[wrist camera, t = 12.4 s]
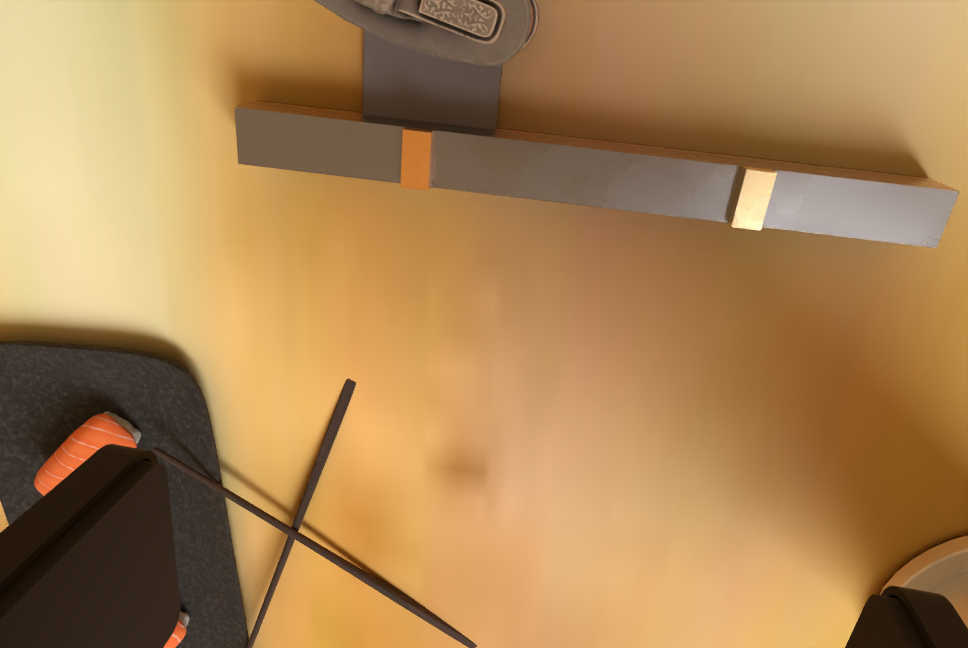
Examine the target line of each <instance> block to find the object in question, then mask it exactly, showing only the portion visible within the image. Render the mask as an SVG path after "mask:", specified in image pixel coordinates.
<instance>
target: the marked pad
mask: <svg viewBox="0 0 968 648" xmlns="http://www.w3.org/2000/svg"><path fill="white" fill-rule="evenodd" d="M501 72H502V64H501V65H496V66H484V65H479V64H473V63H467V62H461V61H456V60H450V59H444V58H439V57H436V56H433V55H430V54H426V53H423V52H420V51H417V50H413V49H410V48H407V47H404V46H401V45H397V44H394V43H391V42H389V41H387V40H385V39H383V38H381V37H379V36H377V35H375V34H373V33H371V32H369V31H366V30H364V58H363V114H365V115H374V116H382V117H391V118H400V119H408V120H417V121H426V122H434V123H443V124H451V125H460V126H469V127H477V128H486V129H496V122H497V112H498V102H499V92H500V82H501Z"/></svg>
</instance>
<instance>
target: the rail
mask: <svg viewBox="0 0 968 648" xmlns="http://www.w3.org/2000/svg"><path fill="white" fill-rule="evenodd" d="M235 118H236V134H237V149H238V164H245V165H253V166H261V167H269V168H278V169H286V170H294V171H302V172H311V173H319V174H327V175H336V176H344V177H352V178H360V179H369V180H377V181H385V182H393V183H401V184H400V187H405V188H413V189H422V190H429V188H430V187H435V188H443V189H451V190H460V191H468V192H476V193H485V194H493V195H501V196H509V197H518V198H526V199H534V200H542V201H551V202H559V203H567V204H576V205H584V206H592V207H600V208H609V209H617V210H625V211H633V212H642V213H650V214H658V215H667V216H675V217H683V218H691V219H700V220H708V221H716V222H724V223H729V225H730V226H731V227H735V228H744V229H752V230H760V231H761V228H762V227H766V228H774V229H782V230H791V231H799V232H807V233H815V234H824V235H832V236H840V237H849V238H857V239H865V240H873V241H882V242H890V243H898V244H906V245H915V246H923V247H931V248H937V246H938V243H939V241H940V238H941V236H942V233H943V231H944V228H945V226H946V224H947V221H948V219H949V216H950V214H951V211H952V209H953V206H954V204H955V201H956V199H957V197H958V194H959V191H957V190H955V189H953V188H951V187H948V186H946V185H944V184H942V183H939V182H937V181H935V180H933V179H930V178H923V177H915V176H906V175H897V174H889V173H880V172H871V171H863V170H854V169H845V168H837V167H828V166H819V165H811V164H802V163H793V162H785V161H776V160H767V159H759V158H750V157H741V156H733V155H724V154H715V153H707V152H698V151H690V150H681V149H672V148H664V147H655V146H646V145H638V144H629V143H620V142H612V141H603V140H594V139H586V138H577V137H568V136H560V135H551V134H542V133H534V132H525V131H516V130H508V129H499V128H496V129H486V128H477V127H469V126H460V125H451V124H443V123H434V122H426V121H417V120H408V119H400V118H391V117H382V116H374V115H365V114H363V113H360V112H352V111H343V110H334V109H326V108H317V107H308V106H300V105H291V104H282V103H274V102H265V101H255V102H252V103H248V104H245V105H241V106H238V107H235Z"/></svg>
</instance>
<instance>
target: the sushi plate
mask: <svg viewBox="0 0 968 648" xmlns="http://www.w3.org/2000/svg"><path fill="white" fill-rule="evenodd" d="M355 385H356V382H354V381H352V380H350V379H347V380H346V382H345V385H344V387H343V390H342V393H341V395H340V398H339V400H338V403H337V406H336V408H335V411H334V414H333V417H332V419H331V422H330V425H329V427H328V430H327V433H326V435H325V438H324V441H323V443H322V446H321V449H320V451H319V454H318V457H317V460H316V462H315V465H314V468H313V470H312V473H311V476H310V479H309V481H308V484H307V487H306V489H305V492H304V495H303V498H302V500H301V503H300V506H299V508H298V511H297V514H296V516H295V519H294V522H293V524H292V527H289V526H288V525H286V524H284V523H283V522H281V521H279V520H278V519H276V518H274V517H273V516H271V515H269V514H268V513H266V512H264V511H263V510H261V509H259V508H258V507H256V506H254V505H253V504H251V503H249V502H248V501H246V500H244V499H243V498H241V497H239V496H238V495H236V494H234V493H233V492H231V491H229V490H228V489H226V488H224V487H223V485H222V479H221V473H220V468H219V462H218V456H217V451H216V445H215V440H214V435H213V430H212V425H211V421H210V416H209V412H208V409H207V405H206V402H205V399H204V396H203V394H202V391H201V388H200V387H199V385H198V383H197V381H196V380H195V378H194V376H193V375H192V374H191V373H190V372H189V371H188V369H187V368H185V367H184V366H182V365H180V364H179V363H177V362H175V361H173V360H170V359H168V358H165V357H162V356H159V355H155V354H151V353H145V352H139V351H133V350H125V349H117V348H106V347H95V346H84V345H71V344H57V343H43V342H22V341H0V501H1V504H2V506H3V509H4V512H5V515H6V518H7V521H8V523H9V525H10V524H12V523H13V522H14V521H15V520H16V519H17V518H19V517H20V516H21V515H22V514H23V513H25V512H26V511H27V510H28V509H29V508H30V507H32V506H33V505H34V504H35V503H36V502H38V501H39V500H40V499H41V498H42V497H43V496H45V495H46V494H47V493H48V492H49V491H50V490H52V489H53V488H54V487H55V486H56V485H58V484H59V483H60V482H61V481H62V480H63V479H65V478H66V477H67V476H68V475H69V474H71V473H72V472H73V471H74V470H75V469H76V468H78V467H79V466H80V465H81V464H82V463H83V462H85V461H86V460H87V459H88V458H89V457H91V456H92V455H93V454H94V453H95V452H96V451H98V450H99V449H100V448H102V447H103V446H105V445H108V444H116V445H122V446H127V447H133V448H138V449H144V450H149V451H151V452H153V453H154V454H155V455H156V457H157V461H158V463H159V464H163V465H164V466H165V468H166V470H167V476H168V486H169V496H170V506H171V516H172V526H173V536H174V545H175V555H176V565H177V575H178V585H179V595H180V605H181V607H180V616H179V620H178V623H177V626H176V628H175V630H174V632H173V634H172V635H171V637H170V638H169V640H168V641H167V643H166V644H165V646H164V647H163V648H252V647H253V644H254V642H255V639H256V636H257V634H258V631H259V629H260V626H261V624H262V621H263V619H264V616H265V614H266V611H267V609H268V606H269V604H270V601H271V598H272V596H273V593H274V591H275V588H276V586H277V583H278V581H279V578H280V576H281V573H282V571H283V568H284V566H285V563H286V561H287V558H288V556H289V553H290V550H291V548H292V545H293V543H294V540H295V539H296V540H297V541H299V542H300V543H302V544H304V545H305V546H307V547H309V548H310V549H312V550H313V551H315V552H317V553H318V554H320V555H321V556H323V557H325V558H326V559H328V560H329V561H331V562H333V563H334V564H336V565H337V566H339V567H341V568H342V569H344V570H345V571H347V572H348V573H350V574H352V575H353V576H355V577H356V578H358V579H359V580H361V581H363V582H364V583H366V584H367V585H369V586H371V587H372V588H374V589H375V590H377V591H378V592H380V593H382V594H383V595H385V596H386V597H388V598H390V599H391V600H393V601H394V602H396V603H398V604H399V605H401V606H402V607H404V608H406V609H407V610H409V611H410V612H412V613H414V614H415V615H417V616H418V617H420V618H422V619H423V620H425V621H427V622H428V623H430V624H431V625H433V626H435V627H436V628H438V629H439V630H441V631H443V632H444V633H446V634H448V635H449V636H451V637H452V638H454V639H456V640H457V641H459V642H461V643H462V644H464V645H466V646H467V647H469V648H475V647H477V645H476V644H475V643H473V642H472V641H471V640H469V639H468V638H466V637H465V636H464V635H462V634H461V633H460V632H458V631H457V630H455V629H454V628H453V627H451V626H450V625H448V624H447V623H446V622H444V621H443V620H441V619H440V618H439V617H437V616H436V615H434V614H433V613H432V612H430V611H429V610H427V609H426V608H425V607H423V606H422V605H420V604H419V603H418V602H416V601H415V600H413V599H412V598H410V597H408V596H407V595H405V594H403V593H402V592H400V591H398V590H396V589H395V588H393V587H391V586H390V585H388V584H386V583H384V582H383V581H381V580H379V579H378V578H376V577H374V576H372V575H371V574H369V573H367V572H366V571H364V570H362V569H360V568H359V567H357V566H355V565H354V564H352V563H350V562H348V561H347V560H345V559H343V558H342V557H340V556H338V555H336V554H335V553H333V552H331V551H330V550H328V549H326V548H324V547H323V546H321V545H319V544H318V543H316V542H314V541H313V540H311V539H309V538H308V537H306V536H304V535H303V534H301V533H299V532H298V530H299V528H300V525H301V523H302V520H303V518H304V515H305V513H306V510H307V508H308V505H309V503H310V500H311V498H312V495H313V493H314V490H315V488H316V485H317V483H318V480H319V478H320V475H321V473H322V470H323V468H324V465H325V463H326V460H327V458H328V455H329V453H330V450H331V448H332V445H333V443H334V440H335V438H336V435H337V432H338V430H339V427H340V425H341V422H342V420H343V417H344V415H345V412H346V409H347V407H348V404H349V402H350V399H351V396H352V394H353V391H354V388H355ZM224 496H225V497H227V498H229V499H230V500H232V501H234V502H235V503H237V504H238V505H240V506H242V507H243V508H245V509H247V510H248V511H250V512H252V513H253V514H255V515H256V516H258V517H260V518H261V519H263V520H265V521H266V522H268V523H270V524H271V525H273V526H274V527H276V528H278V529H279V530H281V531H283V532H284V533H286V534H287V535H288V538H287V541H286V543H285V546H284V549H283V551H282V554H281V557H280V559H279V562H278V565H277V567H276V570H275V573H274V575H273V578H272V581H271V583H270V586H269V589H268V591H267V594H266V597H265V599H264V602H263V605H262V607H261V610H260V613H259V615H258V618H257V621H256V623H255V626H254V629H253V631H252V634H251V637H250V639H249V637H248V631H247V625H246V619H245V614H244V608H243V602H242V596H241V590H240V584H239V579H238V573H237V567H236V561H235V555H234V549H233V544H232V538H231V532H230V526H229V520H228V514H227V508H226V503H225V497H224Z"/></svg>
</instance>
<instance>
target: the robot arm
mask: <svg viewBox="0 0 968 648" xmlns="http://www.w3.org/2000/svg"><path fill="white" fill-rule="evenodd" d="M180 607H181V605H180V595H179V585H178V575H177V565H176V555H175V545H174V536H173V526H172V516H171V506H170V496H169V486H168V476H167V470H166V468H165V466H164V465H163V464H159V463H158V461H157V457H156V455H155V454H154V453H153V452H151V451H149V450H144V449H138V448H133V447H127V446H122V445H116V444H108V445H105V446H103V447H102V448H100V449H99V450H98V451H96V452H95V453H94V454H93V455H92V456H91V457H89V458H88V459H87V460H86V461H85V462H83V463H82V464H81V465H80V466H79V467H78V468H76V469H75V470H74V471H73V472H72V473H71V474H69V475H68V476H67V477H66V478H65V479H63V480H62V481H61V482H60V483H59V484H58V485H56V486H55V487H54V488H53V489H52V490H50V491H49V492H48V493H47V494H46V495H45V496H43V497H42V498H41V499H40V500H39V501H38V502H36V503H35V504H34V505H33V506H32V507H30V508H29V509H28V510H27V511H26V512H25V513H23V514H22V515H21V516H20V517H19V518H17V519H16V520H15V521H14V522H13V523H12V524H10V525H9V526H8V527H7V528H6V529H5V530H3V531H2V532H1V533H0V648H163V647H164V646H165V644H166V643H167V641H168V640H169V638H170V637H171V635H172V634H173V632H174V630H175V628H176V626H177V623H178V620H179V616H180ZM845 648H968V535H967V536H963V537H959V538H956V539H952V540H950V541H948V542H945V543H943V544H940V545H938V546H935V547H933V548H931V549H929V550H928V551H926V552H924V553H922V554H921V555H919V556H917V557H916V558H914V559H912V560H911V561H910V562H909V563H907V564H906V565H905V566H904V567H902V568H901V569H900V570H899V571H897V572H896V573H895V575H894V576H893V577H892V578H891V579H890V580H889V581H888V583H887V584H886V585H885V586H884V587H883V589H882V591H881V593H880V595H872V596H871V597H869V599H868V600H867V602H866V604H865V606H864V608H863V610H862V612H861V614H860V617H859V619H858V621H857V623H856V625H855V627H854V630H853V632H852V634H851V636H850V638H849V640H848V642H847V645H846V647H845Z"/></svg>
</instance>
